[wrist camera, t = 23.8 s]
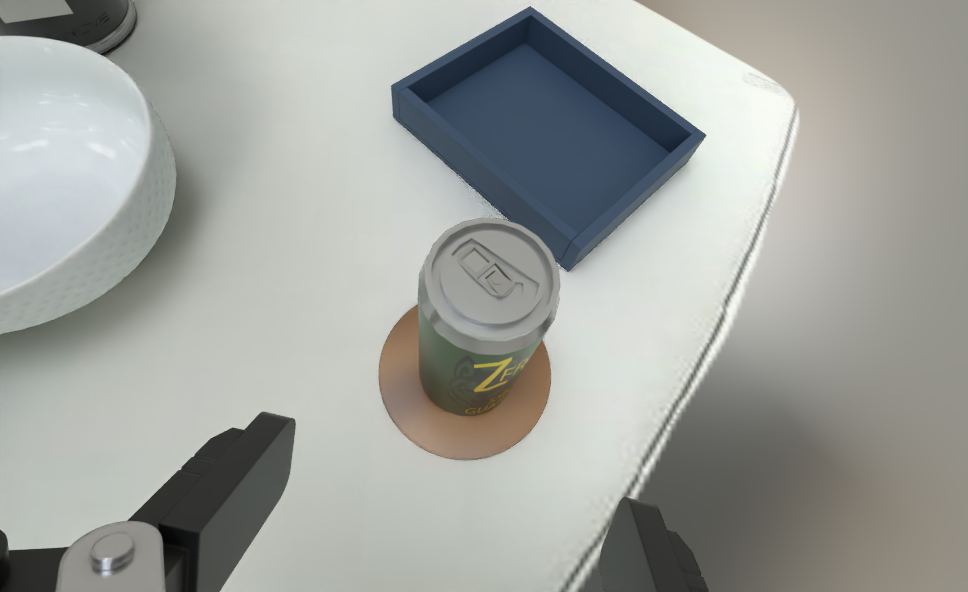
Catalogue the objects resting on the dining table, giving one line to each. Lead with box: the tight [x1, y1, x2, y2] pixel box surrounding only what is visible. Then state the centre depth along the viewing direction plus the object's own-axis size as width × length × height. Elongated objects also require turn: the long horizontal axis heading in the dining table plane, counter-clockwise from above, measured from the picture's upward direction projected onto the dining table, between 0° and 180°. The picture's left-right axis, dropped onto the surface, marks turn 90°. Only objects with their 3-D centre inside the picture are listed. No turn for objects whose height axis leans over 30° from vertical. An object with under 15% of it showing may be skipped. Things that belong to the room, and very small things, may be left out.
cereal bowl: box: [0, 36, 177, 334], centre depth 26 cm, size 17×17×7 cm
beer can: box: [418, 218, 560, 416], centre depth 23 cm, size 5×5×12 cm
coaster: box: [379, 305, 551, 460], centre depth 29 cm, size 10×10×1 cm
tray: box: [391, 6, 706, 271], centre depth 36 cm, size 18×15×3 cm
